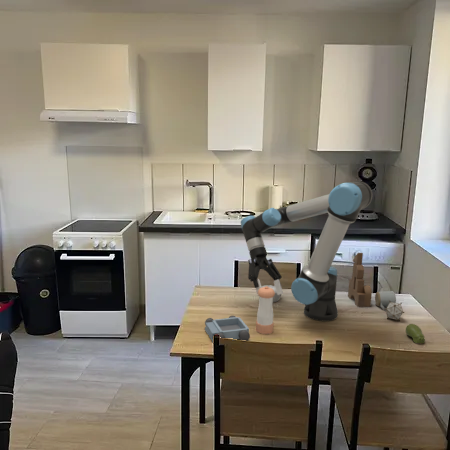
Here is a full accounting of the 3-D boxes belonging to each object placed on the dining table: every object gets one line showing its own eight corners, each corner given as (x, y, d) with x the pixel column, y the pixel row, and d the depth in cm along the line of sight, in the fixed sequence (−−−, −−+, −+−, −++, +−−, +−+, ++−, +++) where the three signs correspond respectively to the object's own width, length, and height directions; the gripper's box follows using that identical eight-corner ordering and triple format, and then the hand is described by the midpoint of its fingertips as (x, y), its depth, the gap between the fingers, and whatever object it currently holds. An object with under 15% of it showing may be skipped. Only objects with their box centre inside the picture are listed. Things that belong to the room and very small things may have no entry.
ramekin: (279, 294, 220) (279, 285, 219) (283, 303, 209) (283, 293, 208) (257, 294, 220) (257, 284, 219) (260, 303, 209) (260, 292, 208)
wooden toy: (371, 307, 207) (376, 256, 202) (357, 307, 207) (362, 256, 202) (359, 295, 222) (363, 248, 217) (346, 295, 222) (350, 248, 217)
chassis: (237, 323, 186) (237, 314, 185) (250, 340, 171) (251, 331, 170) (203, 327, 181) (203, 318, 180) (214, 345, 166) (214, 335, 165)
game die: (395, 325, 196) (410, 309, 195) (395, 326, 188) (410, 309, 187) (379, 312, 200) (393, 295, 199) (378, 312, 192) (393, 295, 191)
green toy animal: (417, 321, 179) (430, 336, 170) (414, 332, 181) (427, 347, 172) (404, 321, 179) (416, 336, 169) (401, 332, 181) (413, 347, 171)
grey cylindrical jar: (373, 302, 213) (375, 288, 211) (390, 303, 212) (391, 288, 211) (380, 312, 202) (382, 296, 200) (398, 312, 202) (400, 297, 200)
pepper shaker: (253, 332, 178) (255, 288, 174) (258, 325, 185) (260, 282, 181) (270, 335, 175) (272, 290, 171) (275, 328, 182) (277, 285, 178)
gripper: (268, 253, 205) (281, 296, 197) (232, 251, 187) (245, 298, 179) (280, 247, 200) (294, 291, 192) (244, 244, 183) (258, 291, 175)
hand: (270, 294), depth 186 cm, fingers open, 13 cm apart
